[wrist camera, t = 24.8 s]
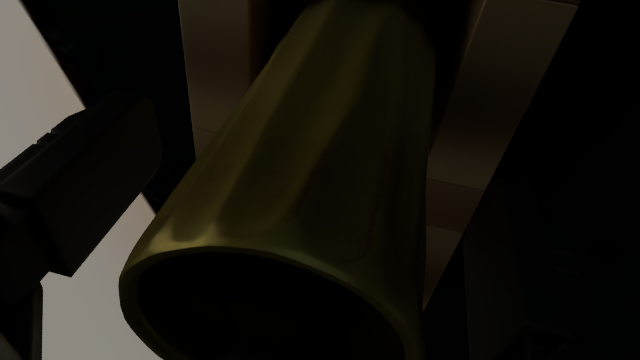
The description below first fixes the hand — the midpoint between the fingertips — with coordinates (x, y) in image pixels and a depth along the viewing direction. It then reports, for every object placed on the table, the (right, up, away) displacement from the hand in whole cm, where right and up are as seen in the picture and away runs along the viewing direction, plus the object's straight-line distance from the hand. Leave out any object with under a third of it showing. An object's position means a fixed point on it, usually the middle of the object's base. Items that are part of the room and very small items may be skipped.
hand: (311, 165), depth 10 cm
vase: (+2, +6, +8) cm, 10 cm away
